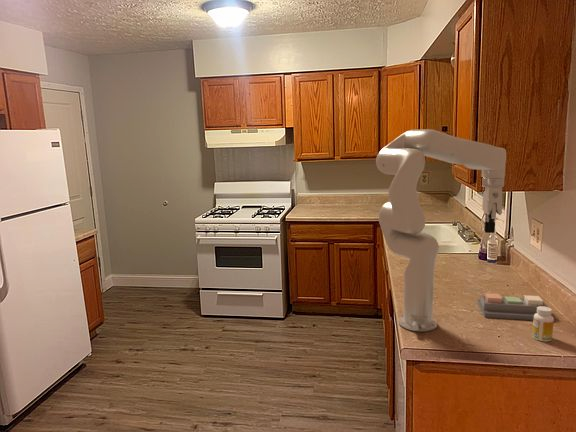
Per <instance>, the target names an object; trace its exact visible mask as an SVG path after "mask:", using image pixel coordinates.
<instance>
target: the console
mask: <svg viewBox="0 0 576 432" xmlns="http://www.w3.org/2000/svg"><path fill="white" fill-rule="evenodd" d="M501 298H502V303H487V302H486V300H485V295H480V296H479V299H477V301H476V302H477V305H478V308H479V310H480V312H481V313H482V315H483V317H484V318H492V319H504V320H505V319H506V320H507V319H508V320H522V321H533V319H534V314H536V313H537V307H539V306H540V305H527V304H526V303H525V301H524V297H519V298H520V300H521V301H522V304H507V303H506V302H505V300H504V298H505V296H501ZM543 306H544V307H548V308H549V306H548V305H547V304H546V303H545V302H544V301H543Z"/></svg>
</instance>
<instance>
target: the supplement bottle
mask: <svg viewBox="0 0 576 432" xmlns="http://www.w3.org/2000/svg"><path fill="white" fill-rule="evenodd" d="M552 312H553V308H550V307H549V306H548V307H544V306H539V307H537V313H536V314H534V319H533V320H532V331H531V332H532V335H531V336H532V338H533V339H534V340H537V341H539V342H546V343H547V342H551V341H552V340H553V334H554V320H555V318H554V317H553V315H552Z"/></svg>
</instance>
